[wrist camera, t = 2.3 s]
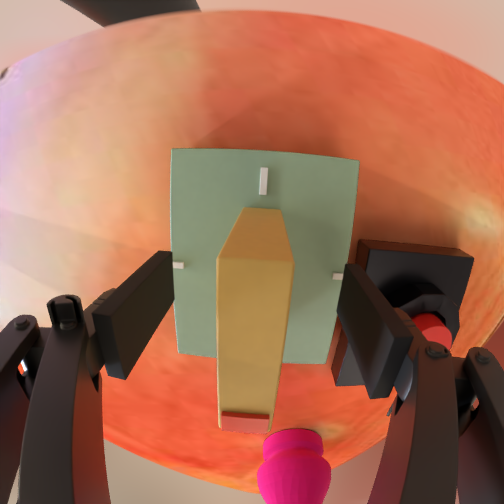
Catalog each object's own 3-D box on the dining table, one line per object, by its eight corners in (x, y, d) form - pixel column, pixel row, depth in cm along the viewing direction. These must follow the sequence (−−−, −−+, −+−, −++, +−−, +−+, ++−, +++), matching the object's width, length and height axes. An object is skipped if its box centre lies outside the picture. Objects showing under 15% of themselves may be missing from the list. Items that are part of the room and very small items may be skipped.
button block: (358, 238, 18) (380, 258, 14) (459, 248, 18) (489, 266, 14) (330, 368, 21) (339, 403, 18) (421, 363, 21) (438, 391, 17)
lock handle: (242, 206, 15) (214, 260, 7) (281, 209, 15) (296, 265, 7) (237, 323, 17) (217, 433, 9) (270, 325, 17) (270, 437, 9)
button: (400, 312, 16) (411, 327, 14) (447, 311, 15) (460, 324, 14) (383, 362, 17) (391, 379, 15) (429, 358, 17) (438, 373, 15)
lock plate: (177, 150, 17) (159, 148, 14) (354, 161, 17) (371, 162, 14) (180, 329, 21) (168, 353, 18) (327, 339, 21) (334, 365, 18)
